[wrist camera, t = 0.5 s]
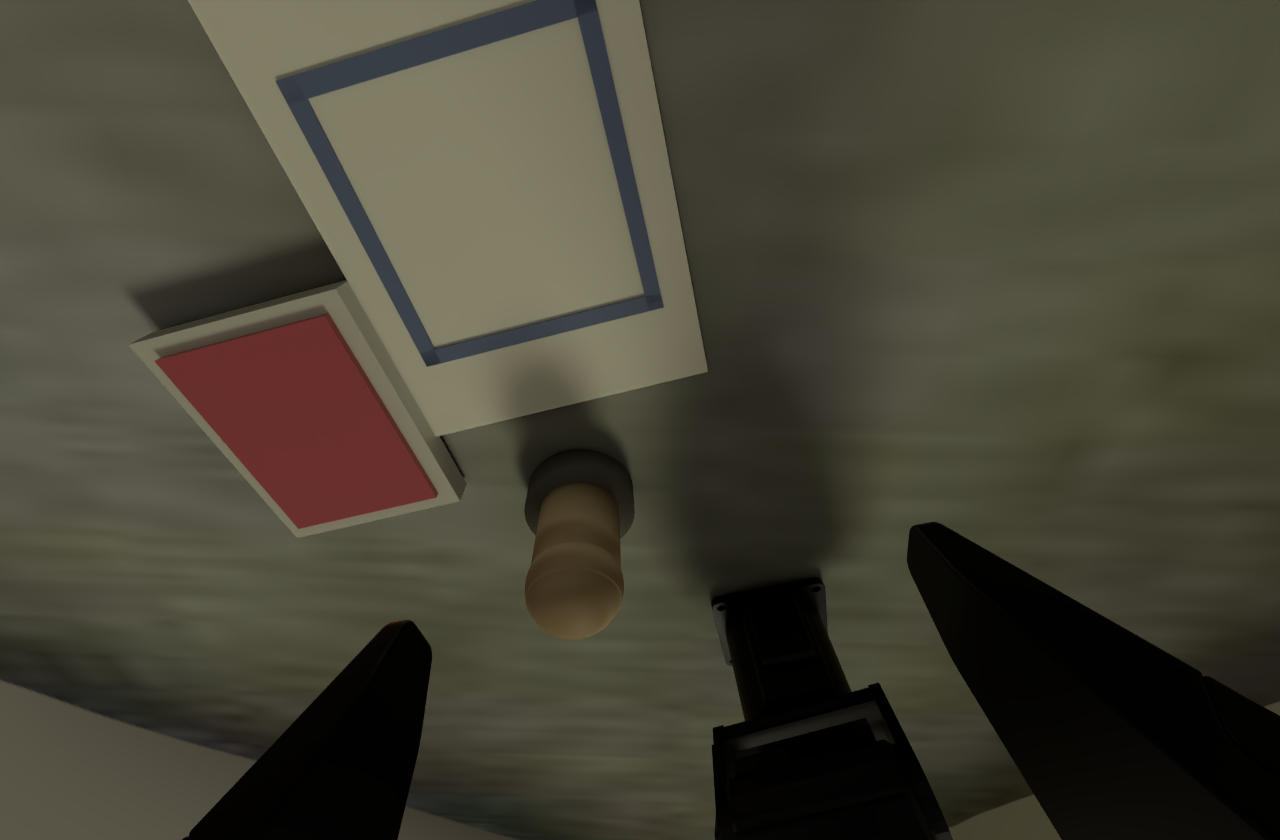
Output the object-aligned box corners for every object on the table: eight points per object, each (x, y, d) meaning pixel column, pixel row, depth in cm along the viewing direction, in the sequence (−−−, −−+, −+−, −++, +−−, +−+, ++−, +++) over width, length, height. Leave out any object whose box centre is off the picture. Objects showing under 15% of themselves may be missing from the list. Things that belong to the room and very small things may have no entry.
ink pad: (466, 484, 23) (458, 505, 22) (310, 519, 24) (293, 542, 23) (351, 278, 18) (331, 291, 17) (153, 331, 19) (121, 348, 17)
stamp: (643, 517, 25) (655, 656, 19) (549, 538, 26) (530, 680, 19) (618, 439, 23) (622, 569, 16) (513, 463, 23) (477, 600, 17)
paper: (706, 368, 21) (708, 373, 20) (437, 432, 22) (435, 438, 21) (601, -194, 12) (601, -203, 12) (167, -48, 13) (156, -52, 13)
